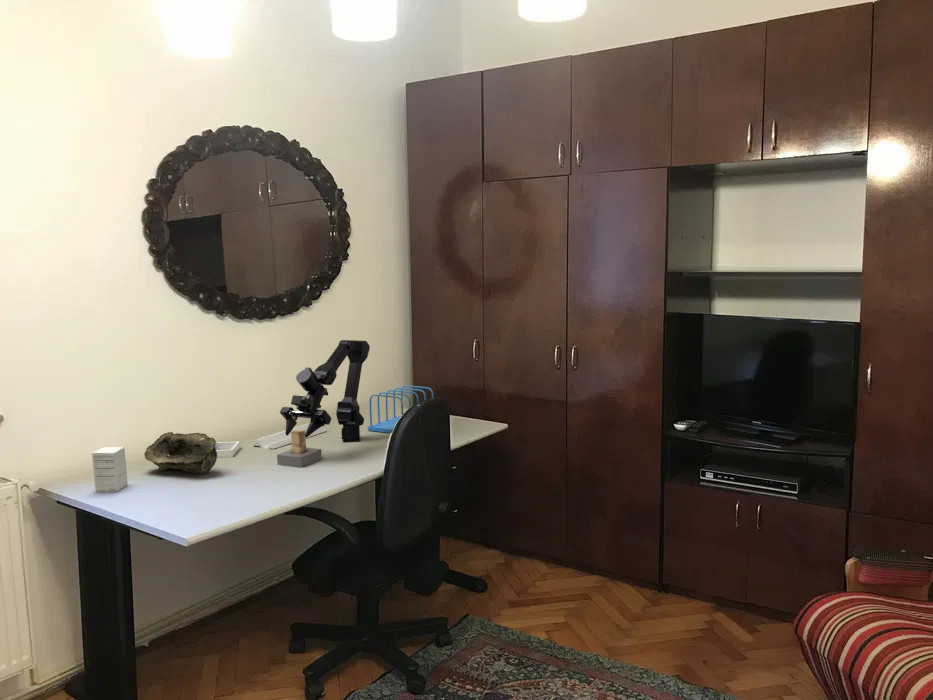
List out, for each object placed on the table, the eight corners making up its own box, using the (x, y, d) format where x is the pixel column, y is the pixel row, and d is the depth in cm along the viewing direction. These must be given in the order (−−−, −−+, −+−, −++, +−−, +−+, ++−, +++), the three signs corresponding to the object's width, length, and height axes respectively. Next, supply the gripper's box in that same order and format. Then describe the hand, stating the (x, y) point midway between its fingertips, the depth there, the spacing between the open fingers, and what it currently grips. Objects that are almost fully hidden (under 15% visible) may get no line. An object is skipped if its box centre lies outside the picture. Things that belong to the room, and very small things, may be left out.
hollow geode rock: (217, 489, 265) (239, 450, 272) (194, 470, 255) (218, 431, 263) (160, 476, 278) (182, 440, 286) (136, 458, 269) (160, 421, 276)
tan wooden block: (299, 457, 281) (298, 429, 280) (306, 457, 280) (305, 430, 279) (292, 459, 278) (291, 431, 276) (299, 460, 276) (298, 432, 275)
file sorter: (403, 435, 315) (402, 397, 313) (367, 431, 323) (366, 394, 321) (436, 422, 337) (435, 386, 335) (401, 419, 345) (400, 384, 343)
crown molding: (273, 451, 297) (273, 441, 297) (249, 448, 303) (249, 438, 303) (326, 432, 324) (326, 424, 324) (304, 430, 330) (303, 421, 330)
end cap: (298, 456, 287) (298, 446, 286) (321, 458, 282) (321, 449, 282) (277, 464, 276) (276, 454, 275) (301, 467, 272) (300, 457, 271)
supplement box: (105, 485, 256) (102, 446, 255) (128, 484, 256) (125, 446, 255) (94, 492, 249) (91, 452, 248) (117, 491, 249) (114, 452, 247)
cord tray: (240, 447, 301) (239, 441, 300) (232, 456, 288) (232, 450, 287) (205, 449, 300) (204, 442, 300) (196, 458, 287) (195, 451, 287)
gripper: (281, 384, 283) (262, 421, 275) (324, 387, 275) (307, 425, 267) (296, 402, 291) (278, 438, 283) (338, 405, 283) (322, 442, 275)
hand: (296, 435), depth 277 cm, fingers open, 8 cm apart
